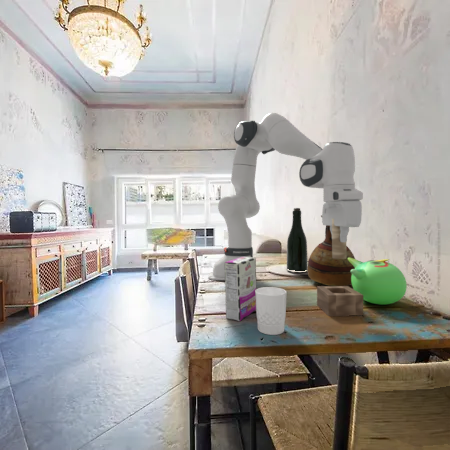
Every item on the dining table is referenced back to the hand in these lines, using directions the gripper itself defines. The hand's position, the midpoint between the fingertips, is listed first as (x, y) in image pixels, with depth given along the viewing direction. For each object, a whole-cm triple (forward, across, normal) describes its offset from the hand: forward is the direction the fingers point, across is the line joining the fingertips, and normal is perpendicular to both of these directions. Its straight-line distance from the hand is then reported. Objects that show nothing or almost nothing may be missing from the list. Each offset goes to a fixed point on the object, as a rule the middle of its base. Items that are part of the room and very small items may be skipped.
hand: (339, 241), depth 82 cm
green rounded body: (+21, -7, +15) cm, 27 cm away
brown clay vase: (+21, -32, +10) cm, 40 cm away
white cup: (+21, +14, -23) cm, 34 cm away
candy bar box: (+21, +3, -30) cm, 37 cm away
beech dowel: (+5, 0, 0) cm, 5 cm away
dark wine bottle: (+21, -58, +2) cm, 62 cm away
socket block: (+21, 0, 0) cm, 21 cm away
